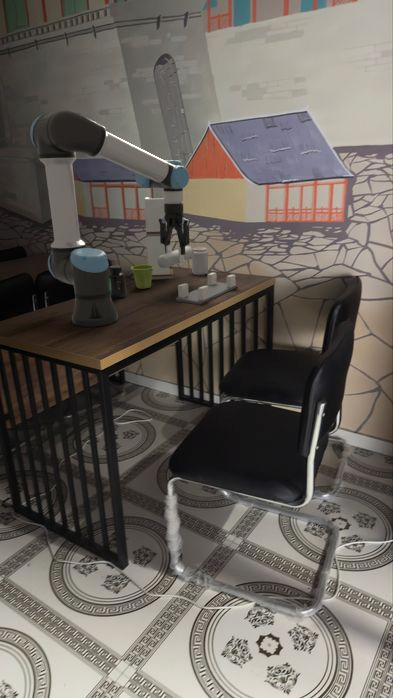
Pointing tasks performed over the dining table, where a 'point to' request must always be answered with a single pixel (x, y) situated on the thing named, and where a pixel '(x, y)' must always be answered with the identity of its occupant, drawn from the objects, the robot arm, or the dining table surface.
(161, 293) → the dining table surface
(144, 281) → the plant pot
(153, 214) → the brown-trimmed grey box
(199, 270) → the can
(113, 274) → the supplement bottle
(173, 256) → the tube
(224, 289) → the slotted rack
